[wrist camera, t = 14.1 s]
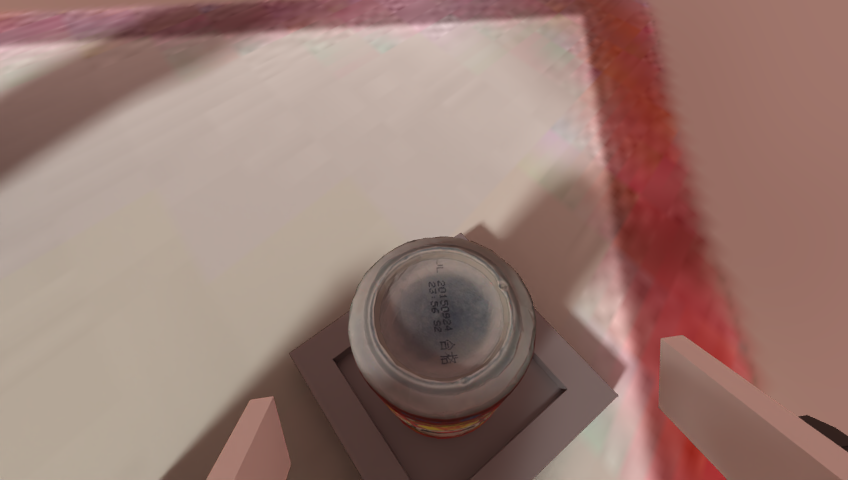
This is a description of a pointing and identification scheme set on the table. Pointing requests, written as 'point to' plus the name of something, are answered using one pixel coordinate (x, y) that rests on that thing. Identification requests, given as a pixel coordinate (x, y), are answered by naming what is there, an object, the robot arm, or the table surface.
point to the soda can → (442, 333)
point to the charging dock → (471, 453)
